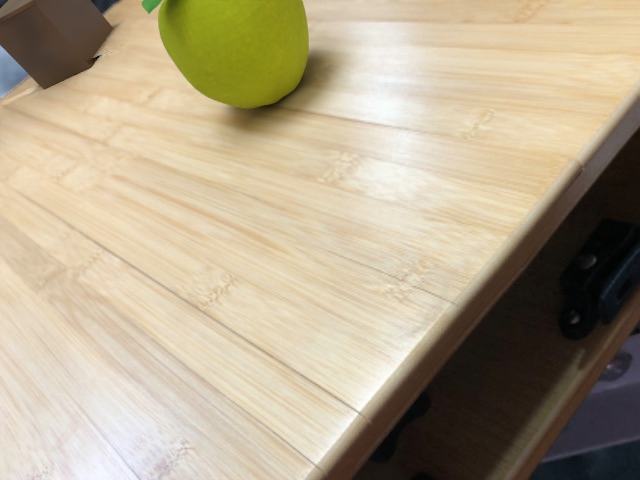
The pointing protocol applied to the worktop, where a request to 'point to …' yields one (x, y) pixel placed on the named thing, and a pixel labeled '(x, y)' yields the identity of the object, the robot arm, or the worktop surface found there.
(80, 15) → the walnut box
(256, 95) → the fruit
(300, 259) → the worktop surface
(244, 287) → the worktop surface
